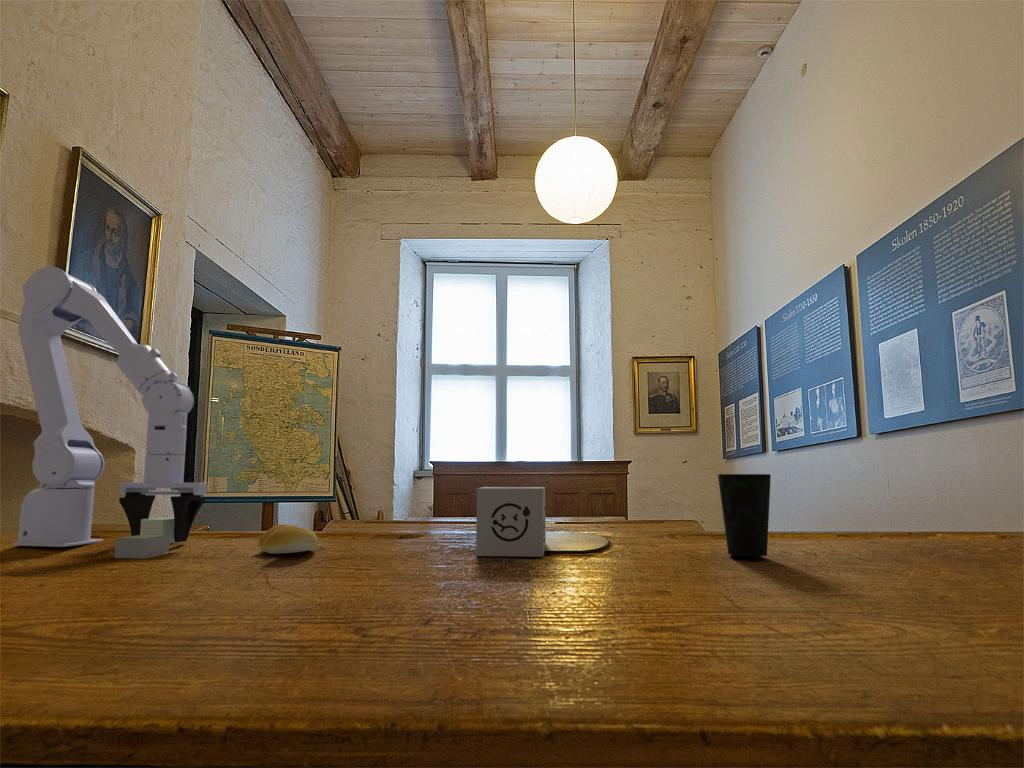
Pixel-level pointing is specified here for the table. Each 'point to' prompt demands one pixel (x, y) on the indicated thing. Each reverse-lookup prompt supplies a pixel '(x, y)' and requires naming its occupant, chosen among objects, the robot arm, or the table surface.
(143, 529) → the sage block
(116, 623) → the table surface
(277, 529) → the bread roll
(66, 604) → the table surface
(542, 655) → the table surface
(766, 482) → the cup
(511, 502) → the icon cube
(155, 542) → the grey block
